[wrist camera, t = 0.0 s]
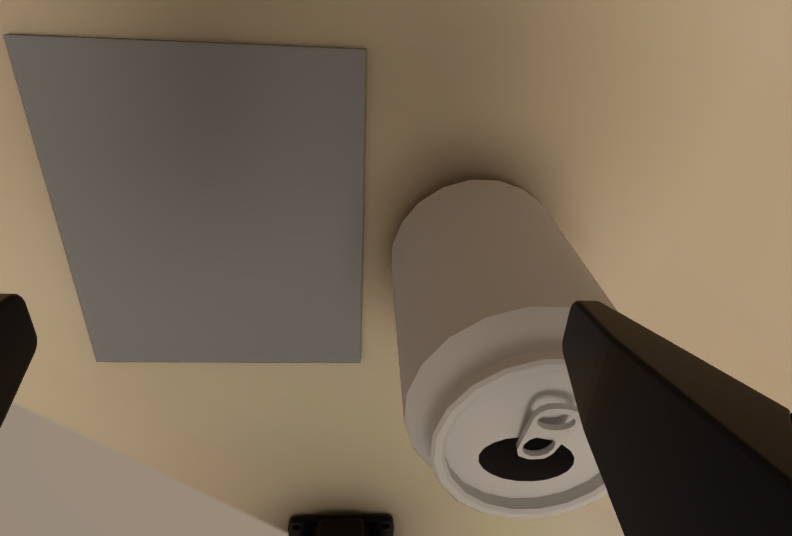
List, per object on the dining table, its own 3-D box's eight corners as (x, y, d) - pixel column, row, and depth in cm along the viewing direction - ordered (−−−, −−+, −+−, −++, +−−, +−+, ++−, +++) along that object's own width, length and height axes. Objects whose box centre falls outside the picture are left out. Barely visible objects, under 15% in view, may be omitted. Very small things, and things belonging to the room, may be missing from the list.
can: (376, 304, 27) (383, 528, 16) (408, 157, 23) (445, 325, 13) (522, 325, 28) (616, 548, 17) (575, 187, 24) (733, 366, 14)
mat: (360, 359, 28) (360, 363, 28) (99, 358, 27) (96, 361, 27) (365, 48, 21) (366, 49, 21) (7, 33, 20) (2, 34, 20)
